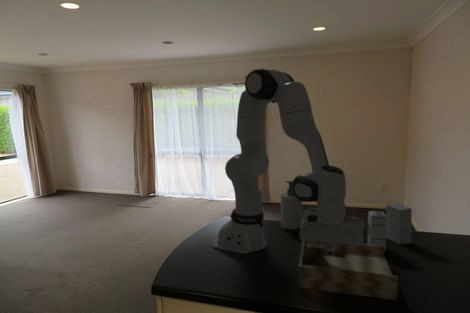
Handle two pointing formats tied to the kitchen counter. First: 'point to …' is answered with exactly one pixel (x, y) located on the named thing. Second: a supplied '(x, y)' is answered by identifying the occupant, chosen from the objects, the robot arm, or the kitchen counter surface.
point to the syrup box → (376, 228)
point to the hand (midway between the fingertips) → (330, 254)
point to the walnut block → (315, 254)
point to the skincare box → (398, 223)
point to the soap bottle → (290, 210)
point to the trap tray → (350, 272)
